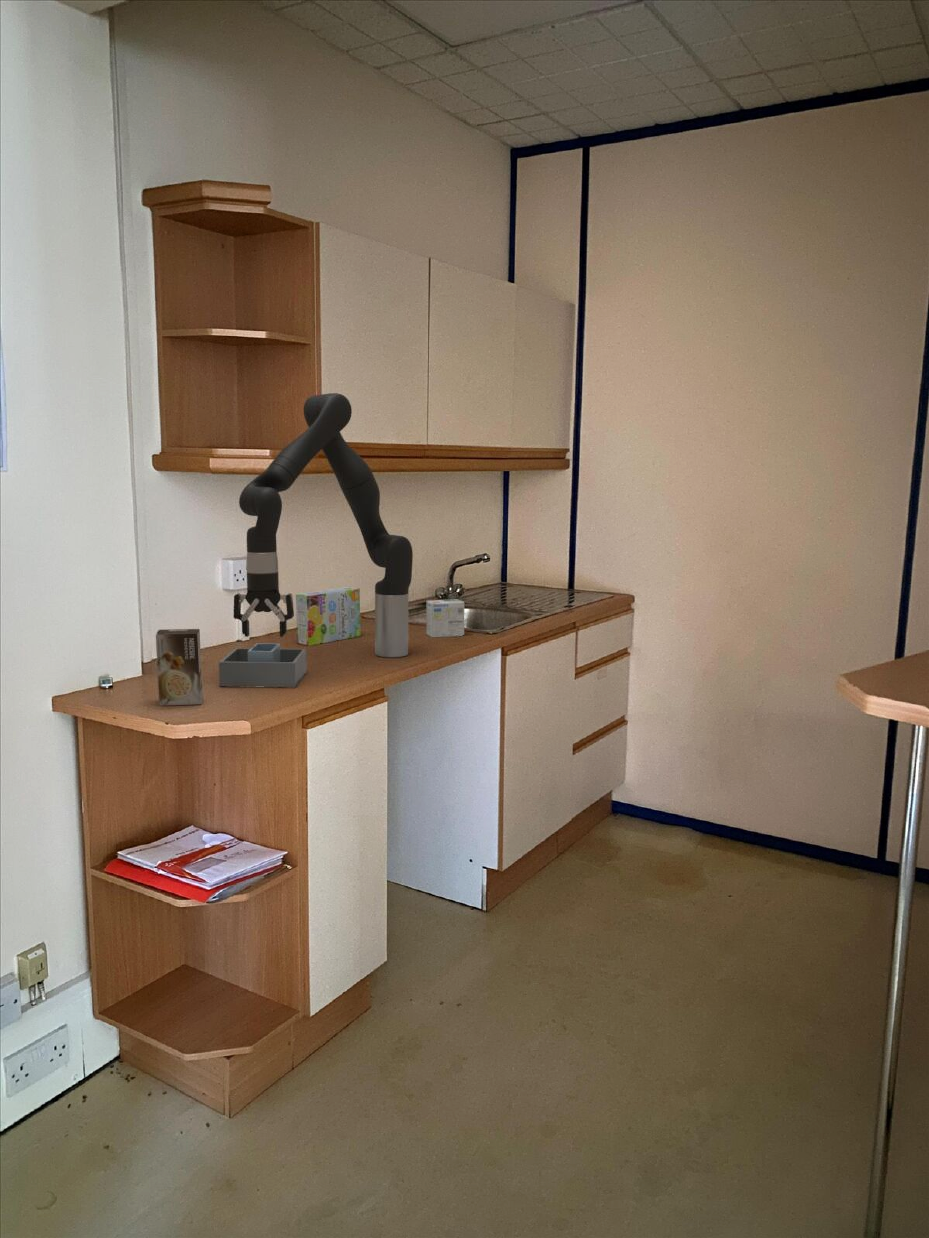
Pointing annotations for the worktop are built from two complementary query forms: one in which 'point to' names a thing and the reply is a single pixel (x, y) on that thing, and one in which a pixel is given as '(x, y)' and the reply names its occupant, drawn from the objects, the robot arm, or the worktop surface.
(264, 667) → the charcoal crate
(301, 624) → the snack box
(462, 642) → the worktop surface
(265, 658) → the blue open bin
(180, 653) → the coffee box
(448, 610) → the light bulb box
